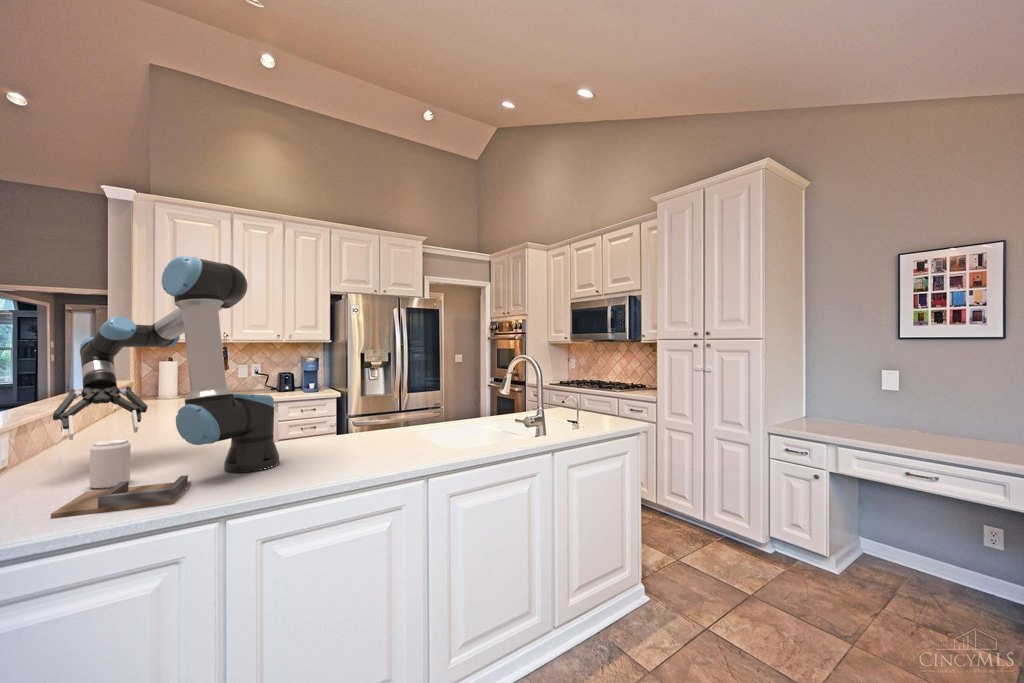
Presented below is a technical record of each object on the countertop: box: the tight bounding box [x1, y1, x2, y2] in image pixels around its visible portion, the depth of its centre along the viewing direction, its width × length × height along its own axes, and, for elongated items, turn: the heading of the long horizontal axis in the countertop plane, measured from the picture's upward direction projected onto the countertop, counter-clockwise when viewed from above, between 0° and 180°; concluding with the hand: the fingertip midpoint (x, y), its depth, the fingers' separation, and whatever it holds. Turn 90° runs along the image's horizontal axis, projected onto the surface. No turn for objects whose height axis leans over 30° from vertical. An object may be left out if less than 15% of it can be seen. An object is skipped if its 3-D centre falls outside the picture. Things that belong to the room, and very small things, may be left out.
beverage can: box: [89, 438, 131, 489], centre depth 118 cm, size 8×8×12 cm
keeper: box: [50, 474, 192, 519], centre depth 107 cm, size 22×16×4 cm
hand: (105, 433), depth 123 cm, fingers open, 13 cm apart
